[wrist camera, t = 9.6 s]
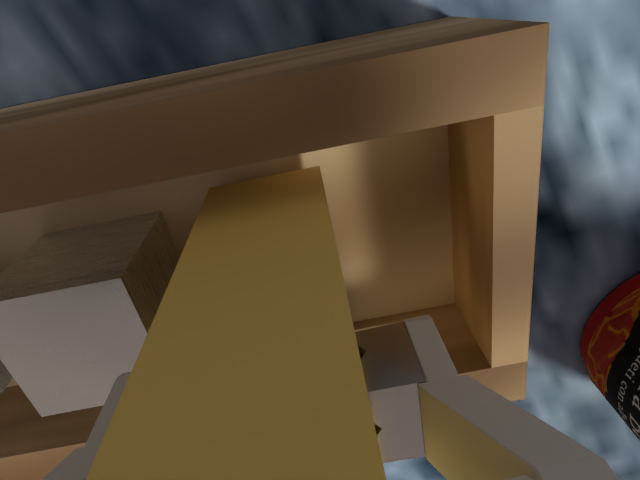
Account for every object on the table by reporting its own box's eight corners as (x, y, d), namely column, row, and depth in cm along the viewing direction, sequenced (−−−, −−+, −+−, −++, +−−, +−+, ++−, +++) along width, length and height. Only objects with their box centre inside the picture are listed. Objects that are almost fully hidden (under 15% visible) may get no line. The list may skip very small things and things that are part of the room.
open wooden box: (-352, 180, 13) (-709, 278, 9) (450, 16, 13) (549, 22, 8) (-134, 402, 18) (-285, 546, 13) (459, 290, 18) (525, 398, 13)
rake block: (209, 187, 12) (-28, 748, 3) (319, 165, 12) (426, 671, 3) (256, 330, 14) (206, 877, 5) (348, 313, 14) (456, 837, 5)
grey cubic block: (43, 233, 12) (-37, 308, 9) (161, 210, 12) (120, 278, 9) (94, 327, 14) (41, 416, 11) (199, 307, 14) (175, 392, 11)
